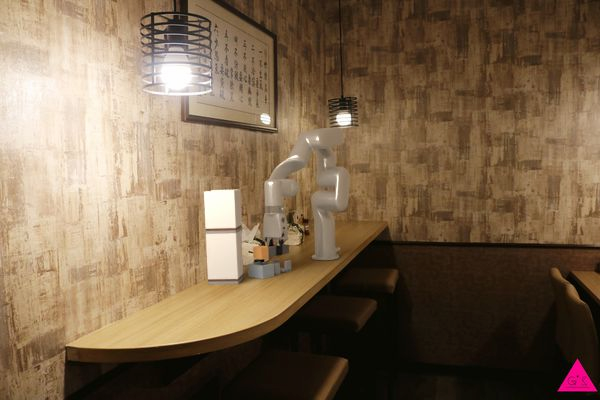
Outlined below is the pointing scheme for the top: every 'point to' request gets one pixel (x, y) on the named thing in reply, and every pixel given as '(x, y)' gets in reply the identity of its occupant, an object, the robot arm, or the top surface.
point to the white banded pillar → (223, 236)
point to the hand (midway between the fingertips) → (275, 254)
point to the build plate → (258, 260)
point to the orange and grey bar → (268, 251)
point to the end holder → (260, 270)
